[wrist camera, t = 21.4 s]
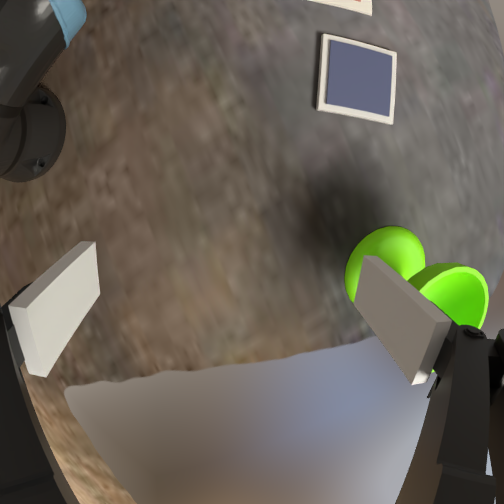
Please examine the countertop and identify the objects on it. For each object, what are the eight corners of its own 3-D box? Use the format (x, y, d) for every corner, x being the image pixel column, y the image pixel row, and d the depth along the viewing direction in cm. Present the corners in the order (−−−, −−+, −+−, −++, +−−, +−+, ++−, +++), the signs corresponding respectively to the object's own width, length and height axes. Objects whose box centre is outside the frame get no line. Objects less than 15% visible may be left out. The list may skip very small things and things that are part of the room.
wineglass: (403, 206, 48) (474, 240, 31) (435, 275, 53) (495, 322, 36) (326, 265, 50) (373, 325, 34) (369, 328, 55) (414, 392, 39)
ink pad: (315, 110, 42) (319, 109, 41) (321, 35, 38) (324, 32, 37) (389, 124, 44) (394, 124, 42) (392, 54, 40) (398, 52, 38)
